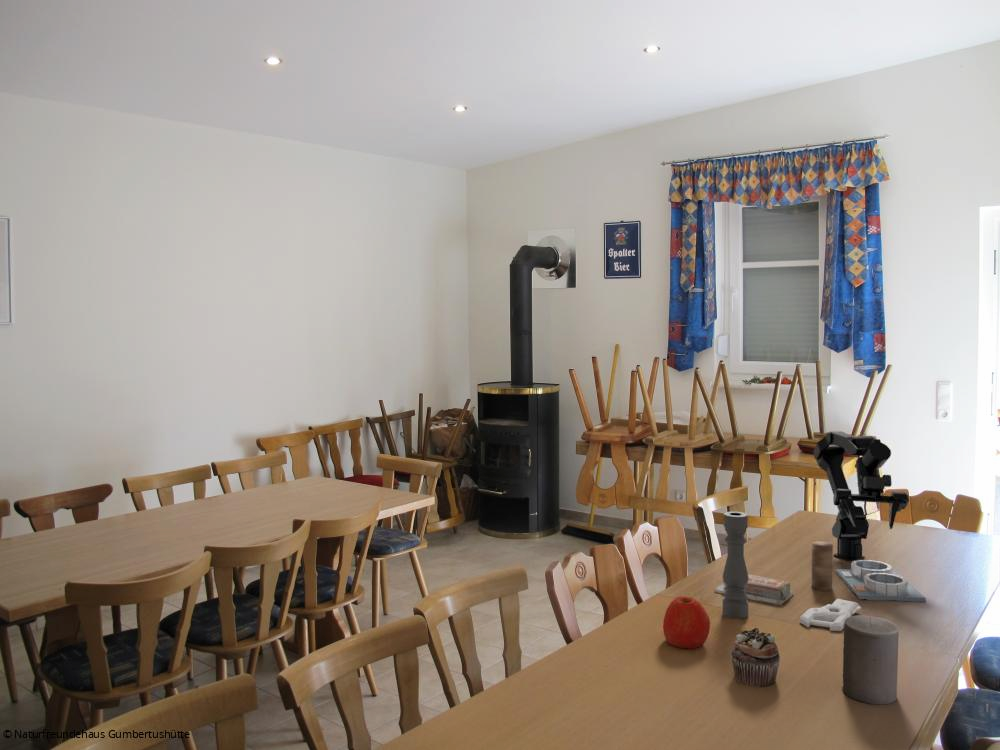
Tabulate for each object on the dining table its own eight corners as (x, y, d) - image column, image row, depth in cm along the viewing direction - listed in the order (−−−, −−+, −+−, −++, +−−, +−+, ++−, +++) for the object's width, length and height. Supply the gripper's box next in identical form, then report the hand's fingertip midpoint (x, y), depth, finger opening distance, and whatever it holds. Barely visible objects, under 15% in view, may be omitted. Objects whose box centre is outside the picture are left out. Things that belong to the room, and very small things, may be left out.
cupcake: (788, 678, 163) (789, 629, 162) (764, 693, 156) (765, 643, 156) (745, 664, 170) (746, 617, 169) (721, 678, 163) (721, 630, 163)
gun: (821, 591, 205) (863, 599, 199) (821, 604, 205) (863, 613, 199) (797, 615, 191) (841, 625, 185) (797, 629, 191) (841, 640, 185)
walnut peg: (807, 586, 219) (807, 543, 218) (821, 583, 221) (821, 540, 220) (822, 592, 214) (822, 547, 214) (836, 589, 216) (837, 545, 216)
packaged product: (794, 578, 212) (781, 588, 204) (794, 596, 213) (781, 607, 205) (728, 566, 223) (713, 575, 216) (728, 583, 224) (713, 593, 216)
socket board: (835, 572, 231) (835, 558, 231) (895, 574, 228) (895, 560, 228) (859, 599, 208) (859, 584, 208) (925, 601, 206) (925, 586, 206)
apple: (714, 639, 184) (714, 594, 183) (701, 655, 175) (701, 608, 174) (671, 631, 189) (671, 587, 188) (656, 646, 180) (656, 600, 179)
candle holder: (726, 608, 203) (726, 510, 202) (751, 612, 200) (751, 512, 199) (719, 616, 198) (719, 515, 196) (744, 620, 195) (745, 518, 193)
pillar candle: (833, 693, 156) (835, 617, 155) (854, 677, 163) (855, 604, 162) (886, 710, 149) (888, 631, 148) (905, 693, 156) (907, 617, 155)
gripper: (837, 461, 226) (841, 513, 218) (910, 465, 221) (917, 517, 213) (831, 479, 235) (835, 529, 227) (901, 482, 231) (907, 534, 222)
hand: (873, 527), depth 222 cm, fingers open, 9 cm apart
